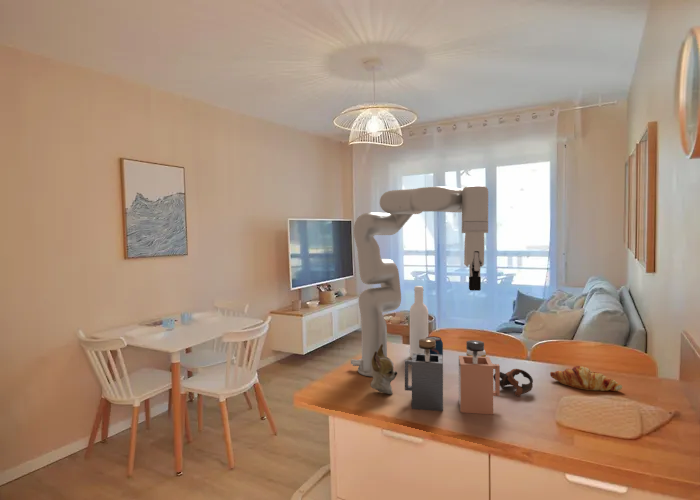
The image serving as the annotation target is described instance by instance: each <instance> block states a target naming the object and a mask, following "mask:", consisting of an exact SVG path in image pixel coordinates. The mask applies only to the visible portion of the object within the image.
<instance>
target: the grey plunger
mask: <svg viewBox="0 0 700 500" xmlns="http://www.w3.org/2000/svg"><path fill="white" fill-rule="evenodd" d="M465 344H466V346H465V347H466V351H467V350H470V351H473V364H478V351H483V350H485V342H484V341H481V340H475V339H473V340H467V341H466V343H465Z"/></svg>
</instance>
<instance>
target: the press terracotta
mask: <svg viewBox="0 0 700 500" xmlns="http://www.w3.org/2000/svg"><path fill="white" fill-rule="evenodd" d="M500 368H501V367H500V364H499V363H498V364H497V363H492V360H491V358H490V356H486V357H479V356H478V364H473V356H467V355H458V404H459V410H460V411H459V412H460V413H467V414H481V415H494V397H500V395H501V393H500V388H501V386H500V380H501V378H500V372H501V369H500ZM494 371H495V372H494ZM494 374H495V380H494V377H493V376H494ZM494 383H495V384H494Z"/></svg>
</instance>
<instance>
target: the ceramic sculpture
mask: <svg viewBox="0 0 700 500" xmlns="http://www.w3.org/2000/svg"><path fill="white" fill-rule="evenodd" d="M382 348H383V344H381V346H380V348H379V350H378V352H376V351H375V353H374V355H373V357H372V366H371V371H372V375H373V377H372V380H371V382H370V387H371V388H372V389H373V390H376V391H378V392H380V393H383V394H387V395H393V390H392V386H391V382H393V381H395V378H396V377H397V374H398V372H397V371H396V370H394V369H395V368H394V366H395V365H394V362H393V360H392V359H390V358H389V357H388V356H387V357H385V356H384V354H383V350H382Z"/></svg>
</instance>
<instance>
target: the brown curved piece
mask: <svg viewBox="0 0 700 500" xmlns="http://www.w3.org/2000/svg"><path fill="white" fill-rule="evenodd" d="M520 374H521V375H522V377H524V378H526V379H528V381H529V382H528V383H522V384H521V385H519V384H520V383H519V381H518V380H517V379H515V376H518V375H520ZM493 381H495V373H493ZM533 383H534V379H533V377H532V376H531V374H529V373H528V372H527V371H526V370H523V369H519V368H513V369H511V370H510V371H507V372H506V373H504V372H502V371H500V388H501V389H504V387H507V386H512V387H514V388H515V392H514V395H515V396H516V397H521V396H522V395H524V394H525V395H526V394H527V393H529V392H531V391H532V389H533V385H534V384H533Z"/></svg>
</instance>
